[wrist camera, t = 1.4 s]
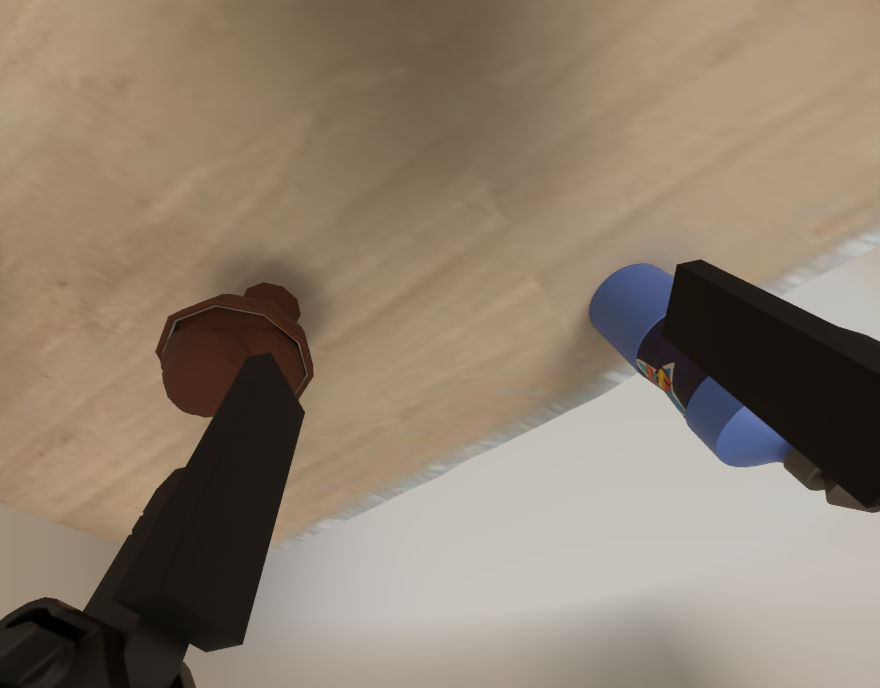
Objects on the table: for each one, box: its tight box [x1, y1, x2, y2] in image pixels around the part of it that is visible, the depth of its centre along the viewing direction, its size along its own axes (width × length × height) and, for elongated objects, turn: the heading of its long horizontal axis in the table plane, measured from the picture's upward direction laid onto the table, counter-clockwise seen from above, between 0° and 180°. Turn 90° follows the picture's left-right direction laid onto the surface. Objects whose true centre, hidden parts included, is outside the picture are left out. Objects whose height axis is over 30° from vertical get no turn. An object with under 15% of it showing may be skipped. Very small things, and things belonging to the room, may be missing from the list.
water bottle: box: [590, 264, 880, 513], centre depth 30 cm, size 9×9×25 cm
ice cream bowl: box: [155, 283, 314, 418], centre depth 29 cm, size 11×11×15 cm
